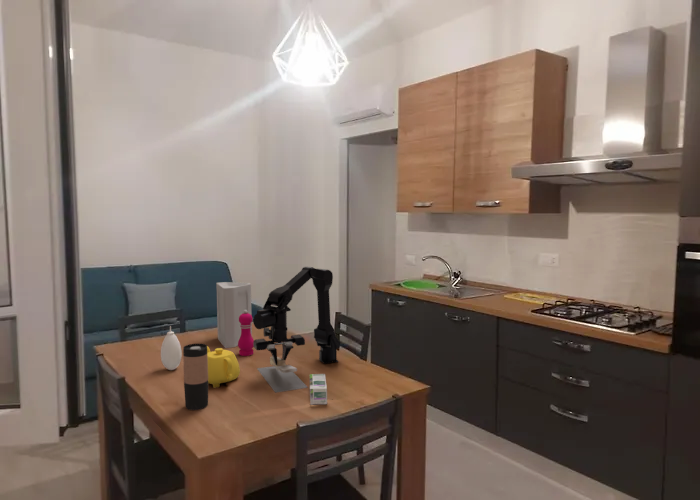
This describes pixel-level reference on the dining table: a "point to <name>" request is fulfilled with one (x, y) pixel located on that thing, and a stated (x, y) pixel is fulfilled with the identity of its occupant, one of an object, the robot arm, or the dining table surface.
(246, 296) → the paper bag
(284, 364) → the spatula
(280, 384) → the charcoal board
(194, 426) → the dining table surface
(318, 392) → the syrup box
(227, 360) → the teapot
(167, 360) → the air blower bulb
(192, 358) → the travel mug
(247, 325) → the pepper mill
